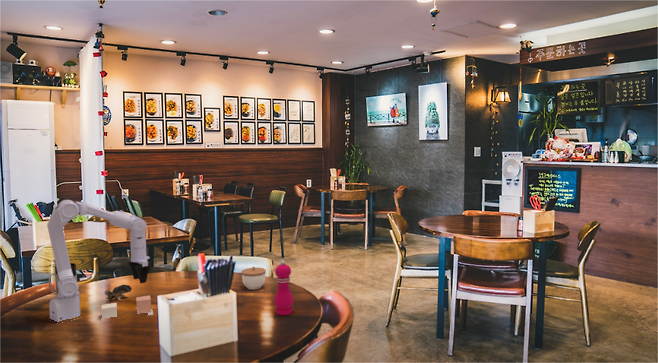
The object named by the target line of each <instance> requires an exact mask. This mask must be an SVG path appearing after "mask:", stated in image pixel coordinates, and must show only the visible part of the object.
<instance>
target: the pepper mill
mask: <svg viewBox="0 0 658 363" xmlns="http://www.w3.org/2000/svg"><path fill="white" fill-rule="evenodd" d="M291 273H292V268H291V266H290V265H288V264H286V261H285V260H281V261H280V264H279V265H277V266H276V267H275V269H274V274H275V276H276V282H277V291H276V293H275V296H274V300H273V301H274V302H273V303H274V305H275V306H276V307H275V314H276V315H279V316H288V315H291V314H292V313H293V306H292V305H293V304H294V297H293V294H292V292H291V290H290V284H289V283H290V281H291V279H290V278H291V277H290V275H291Z"/></svg>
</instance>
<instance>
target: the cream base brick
mask: <svg viewBox="0 0 658 363" xmlns="http://www.w3.org/2000/svg"><path fill="white" fill-rule="evenodd" d="M100 310H101V311H100V312H101V313H102V319H103V318H110V317H117V310H118V303H117V302H112V303H105V304H101V308H100Z"/></svg>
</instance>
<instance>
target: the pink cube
mask: <svg viewBox="0 0 658 363" xmlns="http://www.w3.org/2000/svg"><path fill="white" fill-rule="evenodd" d="M135 299H136V300H135V301H136V308H137V314H140V313H148V312H151V305H152V301H151V300H152V299H151V295H143V296H137V297H136V298H135Z"/></svg>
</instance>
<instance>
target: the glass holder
mask: <svg viewBox="0 0 658 363" xmlns="http://www.w3.org/2000/svg"><path fill="white" fill-rule="evenodd" d="M70 265H71V269H72V273H73V277H74V278H75V279H76V282H77V283H78V276H77V274H78V273H77V266H76V265H77V264H76V263H74V262H73V263H72V262H70ZM54 271H55V272H53V273H50V274H49V276H48V285H49V289H50V291H51V293H53V294H54V295H55V298H56V297H57V294H58V293H59V288H58V287H57V281H58V273H57V267H56V265H55V266H54ZM53 275H54V276H55V278H54V281H55V291H54V289H53V287H52V283H51V280H52V279H51V278H52V276H53Z"/></svg>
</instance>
